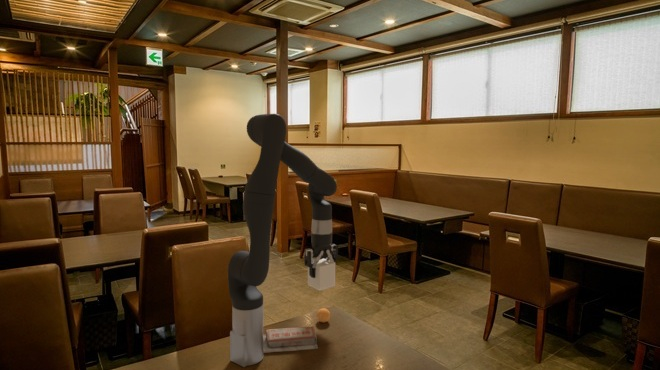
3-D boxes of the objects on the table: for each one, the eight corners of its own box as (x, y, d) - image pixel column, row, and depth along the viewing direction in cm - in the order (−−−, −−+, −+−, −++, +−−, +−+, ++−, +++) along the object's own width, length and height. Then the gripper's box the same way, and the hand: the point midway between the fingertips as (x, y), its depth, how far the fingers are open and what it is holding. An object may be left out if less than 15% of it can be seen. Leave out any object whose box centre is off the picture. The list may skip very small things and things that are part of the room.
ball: (314, 318, 147) (322, 327, 144) (313, 309, 145) (321, 318, 141) (325, 312, 150) (333, 320, 146) (324, 303, 147) (332, 311, 144)
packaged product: (314, 322, 136) (318, 336, 127) (314, 335, 137) (318, 350, 127) (261, 325, 133) (261, 340, 123) (261, 338, 134) (261, 354, 124)
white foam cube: (335, 286, 144) (335, 262, 143) (319, 290, 139) (319, 266, 138) (322, 280, 149) (323, 258, 148) (307, 285, 145) (307, 261, 144)
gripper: (330, 226, 149) (329, 268, 151) (299, 231, 140) (299, 276, 142) (343, 230, 144) (342, 273, 146) (312, 236, 134) (311, 282, 136)
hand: (321, 275), depth 144 cm, fingers closed on white foam cube, 7 cm apart
